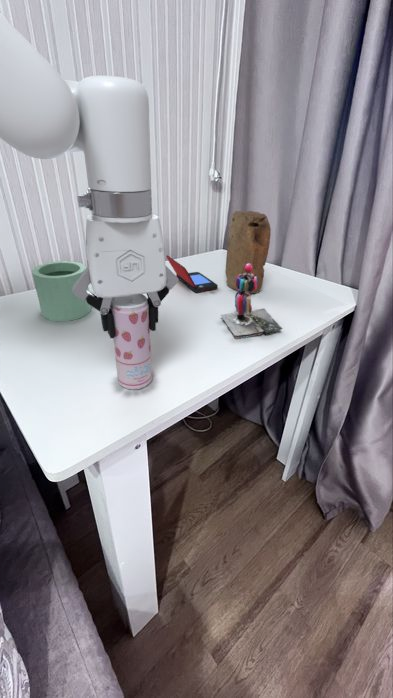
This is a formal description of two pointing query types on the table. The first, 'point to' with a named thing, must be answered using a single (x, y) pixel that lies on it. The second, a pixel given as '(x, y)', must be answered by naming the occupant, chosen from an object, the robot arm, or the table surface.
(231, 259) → the block
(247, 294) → the statue
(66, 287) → the jar
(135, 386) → the beverage can
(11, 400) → the table surface
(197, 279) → the handheld console
